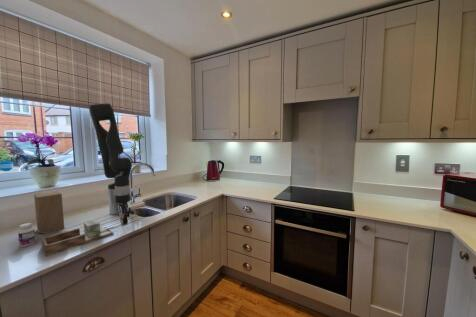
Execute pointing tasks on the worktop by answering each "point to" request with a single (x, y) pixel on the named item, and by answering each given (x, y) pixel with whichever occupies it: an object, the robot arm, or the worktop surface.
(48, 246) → the lane
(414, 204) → the worktop surface
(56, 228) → the wooden block
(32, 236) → the pill bottle
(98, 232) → the string block
